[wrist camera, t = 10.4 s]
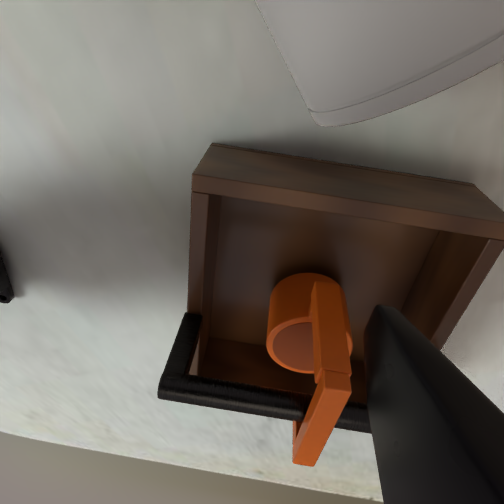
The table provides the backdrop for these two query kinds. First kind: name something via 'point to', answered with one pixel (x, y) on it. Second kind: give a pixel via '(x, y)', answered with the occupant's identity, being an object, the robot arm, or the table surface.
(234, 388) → the basket handle
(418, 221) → the basket
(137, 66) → the table surface
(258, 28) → the table surface
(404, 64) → the bent grey cylinder
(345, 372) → the measuring cup
